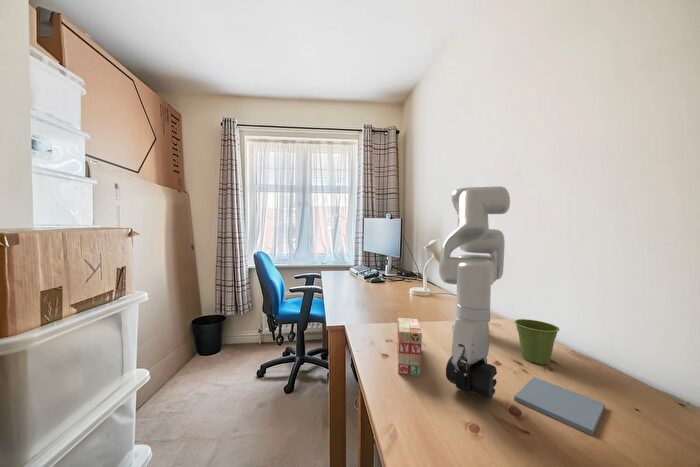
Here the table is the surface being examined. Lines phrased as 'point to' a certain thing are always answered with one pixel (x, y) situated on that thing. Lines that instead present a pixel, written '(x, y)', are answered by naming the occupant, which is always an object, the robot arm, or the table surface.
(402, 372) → the stack of blocks
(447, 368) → the end cap
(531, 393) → the slate mat
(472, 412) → the table surface
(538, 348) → the plant pot
